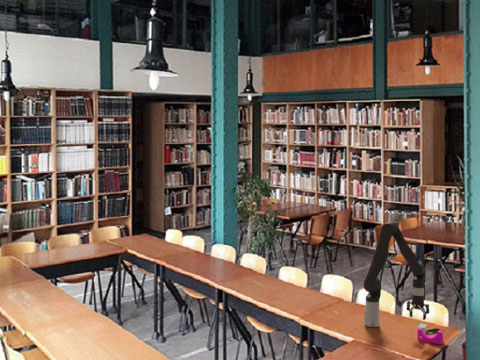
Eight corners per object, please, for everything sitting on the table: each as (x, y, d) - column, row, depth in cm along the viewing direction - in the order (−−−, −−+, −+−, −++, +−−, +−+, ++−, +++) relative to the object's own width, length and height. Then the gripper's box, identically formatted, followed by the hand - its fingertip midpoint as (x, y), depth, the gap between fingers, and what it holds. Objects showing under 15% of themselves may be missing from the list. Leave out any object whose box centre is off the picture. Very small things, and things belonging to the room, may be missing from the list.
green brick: (420, 323, 370) (420, 330, 371) (417, 327, 363) (417, 334, 363) (427, 324, 368) (427, 331, 368) (424, 328, 360) (424, 335, 361)
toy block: (443, 341, 349) (443, 329, 349) (442, 344, 343) (442, 332, 343) (418, 338, 356) (419, 326, 355) (417, 340, 350) (417, 329, 350)
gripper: (405, 293, 357) (404, 317, 358) (426, 296, 348) (426, 321, 349) (409, 291, 363) (409, 315, 364) (431, 294, 354) (430, 319, 355)
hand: (417, 318), depth 356 cm, fingers open, 8 cm apart
